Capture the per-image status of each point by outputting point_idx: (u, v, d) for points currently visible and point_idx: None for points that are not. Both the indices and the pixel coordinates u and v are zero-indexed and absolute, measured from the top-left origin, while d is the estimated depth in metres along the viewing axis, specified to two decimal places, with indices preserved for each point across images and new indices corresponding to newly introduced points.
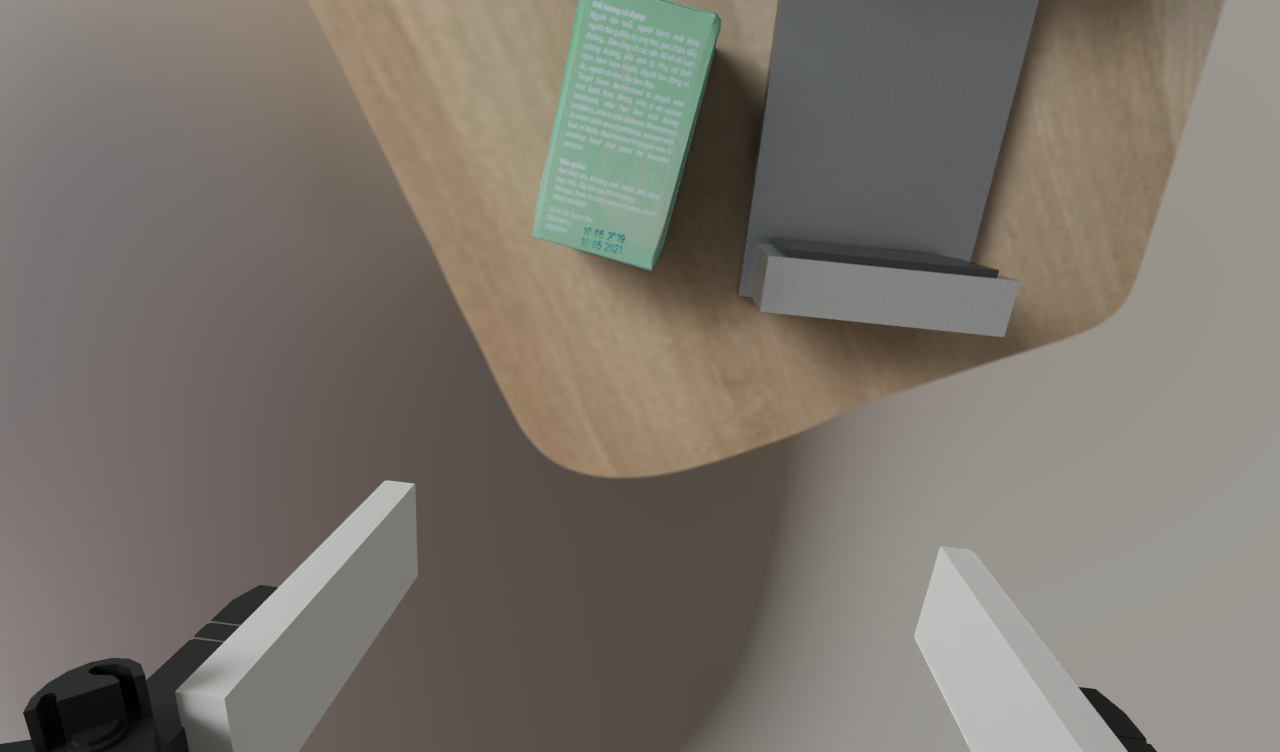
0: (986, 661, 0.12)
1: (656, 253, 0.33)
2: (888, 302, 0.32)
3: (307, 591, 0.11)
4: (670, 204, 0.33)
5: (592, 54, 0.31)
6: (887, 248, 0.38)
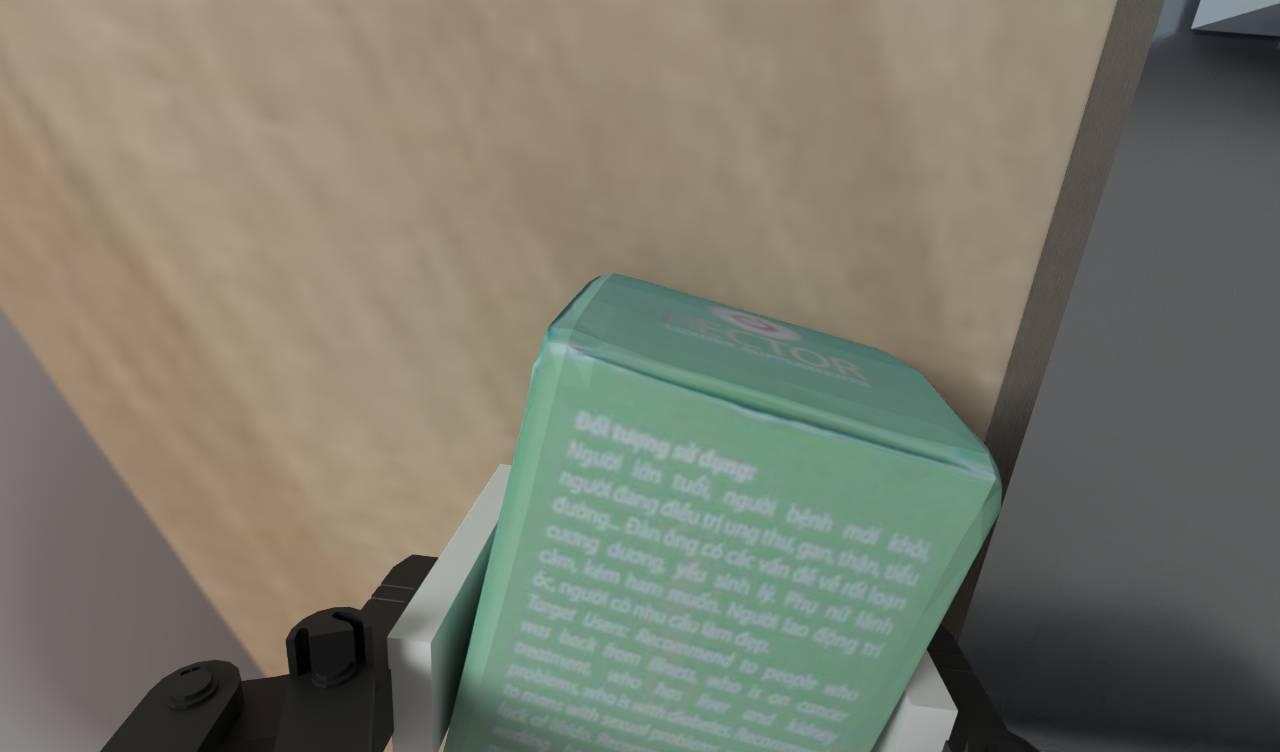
0: None
1: None
2: None
3: (467, 557, 0.12)
4: None
5: (573, 556, 0.09)
6: None
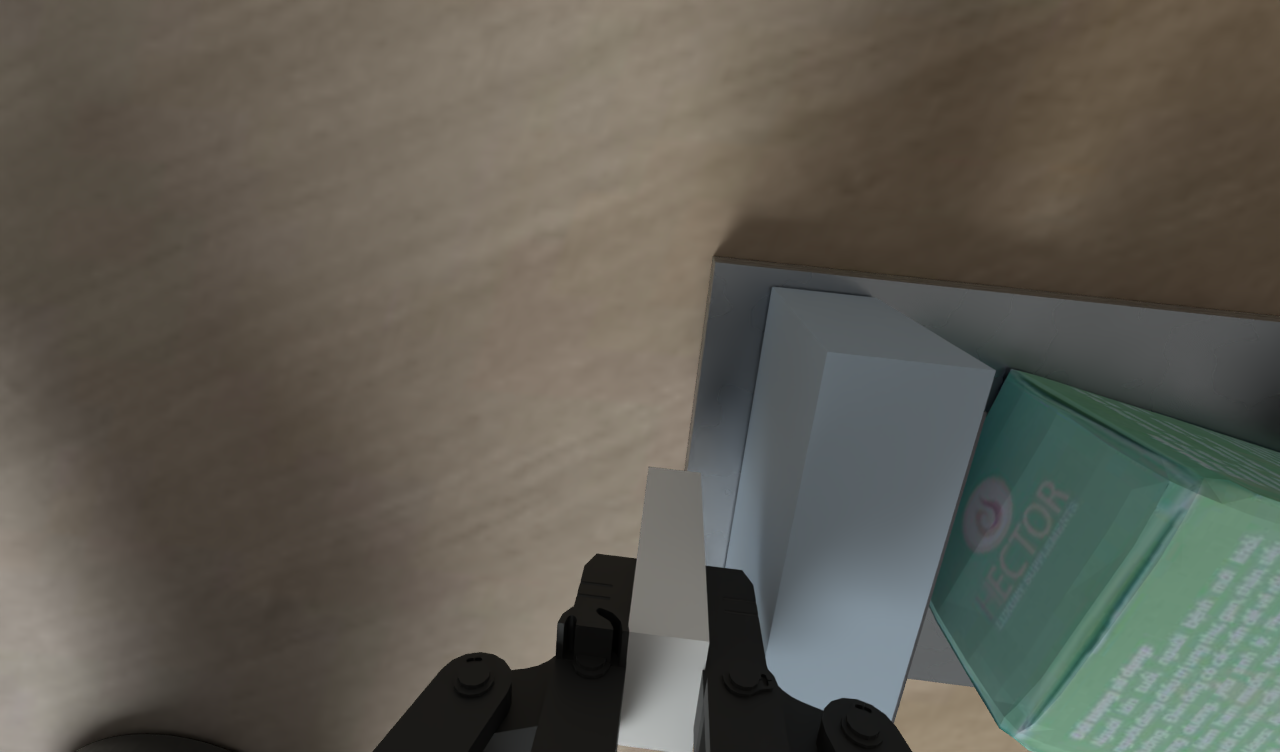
0: None
1: None
2: None
3: (662, 556, 0.13)
4: None
5: None
6: None
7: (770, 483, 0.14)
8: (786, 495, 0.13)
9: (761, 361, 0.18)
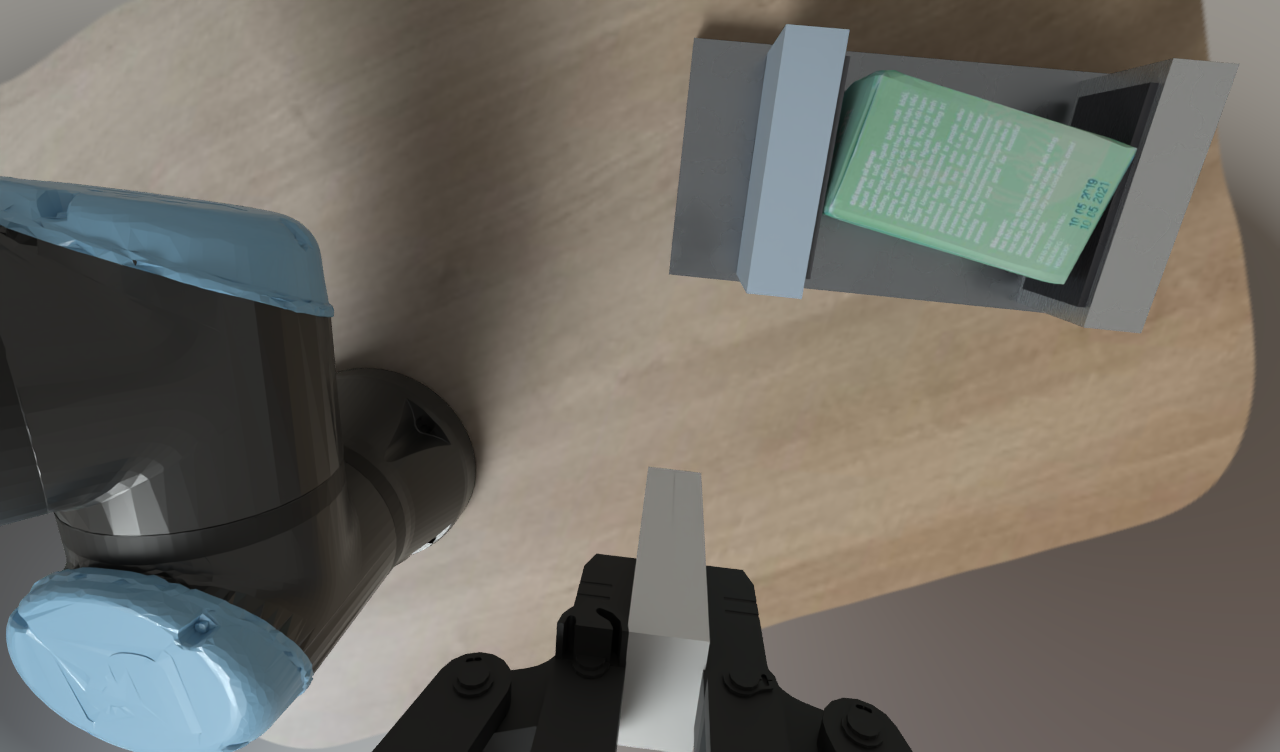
0: None
1: (1116, 142, 0.29)
2: (1162, 202, 0.30)
3: (662, 556, 0.13)
4: (1064, 124, 0.29)
5: (898, 207, 0.31)
6: None
7: (766, 120, 0.32)
8: (772, 104, 0.31)
9: (762, 93, 0.36)
